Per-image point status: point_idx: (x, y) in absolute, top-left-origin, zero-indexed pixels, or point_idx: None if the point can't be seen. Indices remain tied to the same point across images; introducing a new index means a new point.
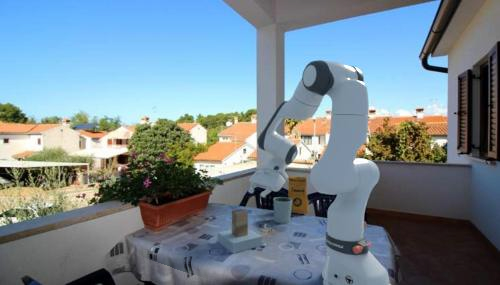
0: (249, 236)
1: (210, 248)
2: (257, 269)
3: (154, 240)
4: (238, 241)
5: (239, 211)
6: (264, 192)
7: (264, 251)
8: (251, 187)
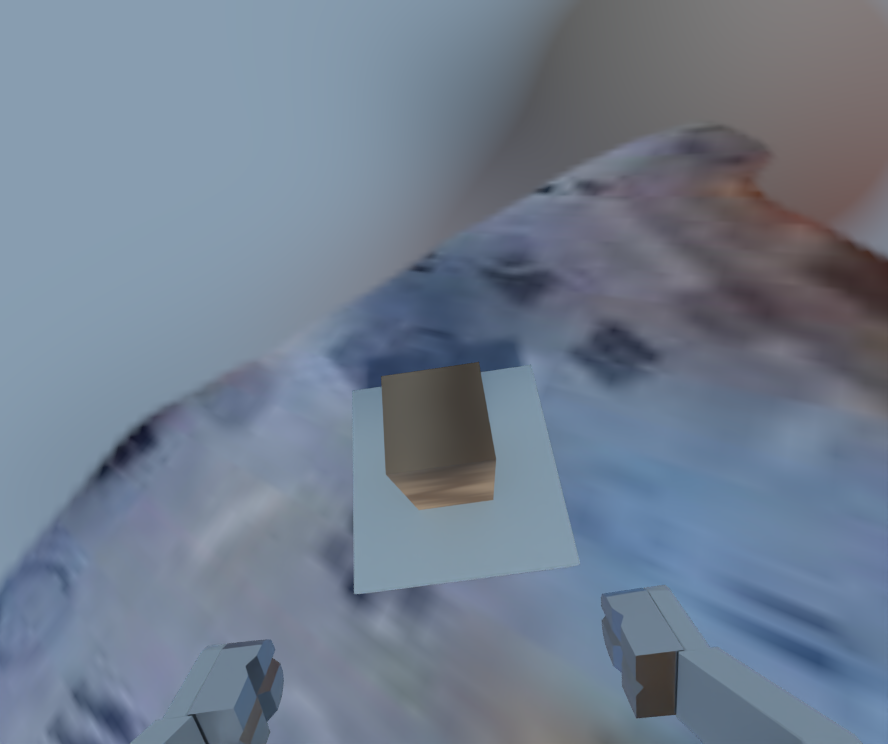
0: (391, 509)
1: (462, 341)
2: (194, 447)
3: (628, 181)
4: (360, 422)
5: (428, 410)
6: (169, 728)
7: (302, 563)
8: (708, 680)
